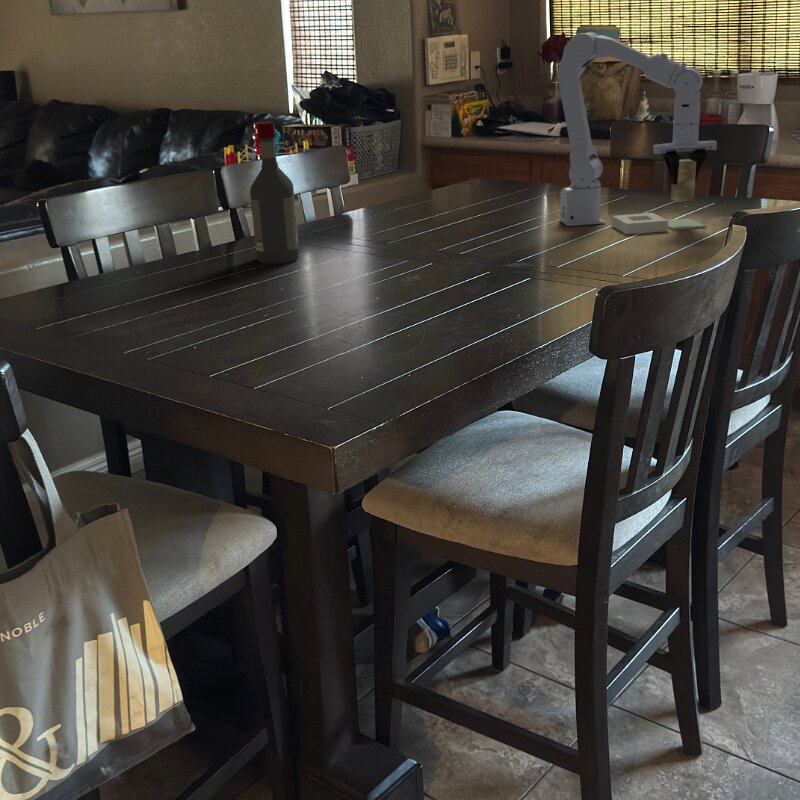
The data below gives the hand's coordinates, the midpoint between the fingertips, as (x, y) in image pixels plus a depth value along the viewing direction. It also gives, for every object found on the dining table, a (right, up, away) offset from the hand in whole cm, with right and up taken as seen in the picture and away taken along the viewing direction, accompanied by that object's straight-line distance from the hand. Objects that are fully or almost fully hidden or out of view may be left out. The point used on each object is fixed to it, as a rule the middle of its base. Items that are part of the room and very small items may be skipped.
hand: (683, 183), depth 232 cm
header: (-10, -10, +3) cm, 14 cm away
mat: (+1, -9, +4) cm, 10 cm away
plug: (0, -4, +1) cm, 4 cm away
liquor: (-94, -19, -8) cm, 96 cm away
